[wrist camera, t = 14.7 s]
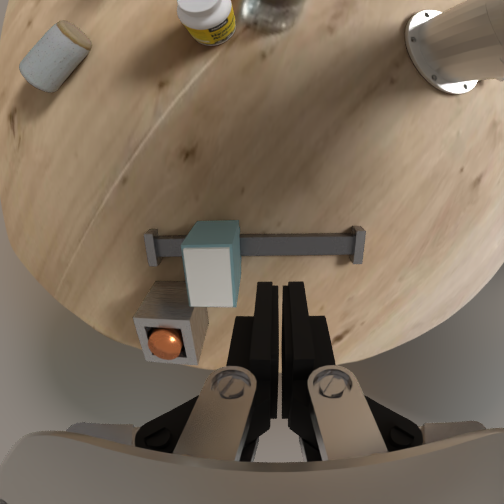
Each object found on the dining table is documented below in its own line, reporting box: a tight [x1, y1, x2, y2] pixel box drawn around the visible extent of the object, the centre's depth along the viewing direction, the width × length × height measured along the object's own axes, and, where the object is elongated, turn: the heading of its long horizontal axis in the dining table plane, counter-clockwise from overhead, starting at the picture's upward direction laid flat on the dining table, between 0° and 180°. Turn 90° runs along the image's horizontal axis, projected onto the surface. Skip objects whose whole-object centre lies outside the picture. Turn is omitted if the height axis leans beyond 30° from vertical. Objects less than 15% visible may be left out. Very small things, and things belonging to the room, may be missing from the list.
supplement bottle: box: [177, 0, 236, 46], centre depth 22 cm, size 5×5×10 cm
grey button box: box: [133, 281, 209, 365], centre depth 37 cm, size 7×7×9 cm
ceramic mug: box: [19, 20, 92, 92], centre depth 24 cm, size 11×8×8 cm
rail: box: [144, 226, 366, 266], centre depth 37 cm, size 27×4×2 cm, turn 91°
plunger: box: [148, 327, 184, 360], centre depth 36 cm, size 4×4×8 cm
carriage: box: [181, 220, 241, 307], centre depth 33 cm, size 5×7×9 cm
